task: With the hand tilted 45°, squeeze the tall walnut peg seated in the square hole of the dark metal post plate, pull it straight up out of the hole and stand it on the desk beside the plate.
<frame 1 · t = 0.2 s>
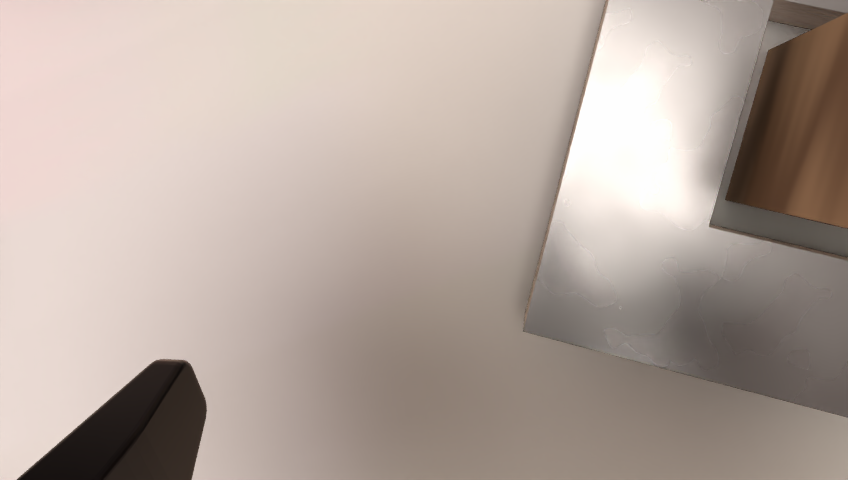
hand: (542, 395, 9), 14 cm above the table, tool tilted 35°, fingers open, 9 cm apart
post plate: (824, 143, 22), on the table
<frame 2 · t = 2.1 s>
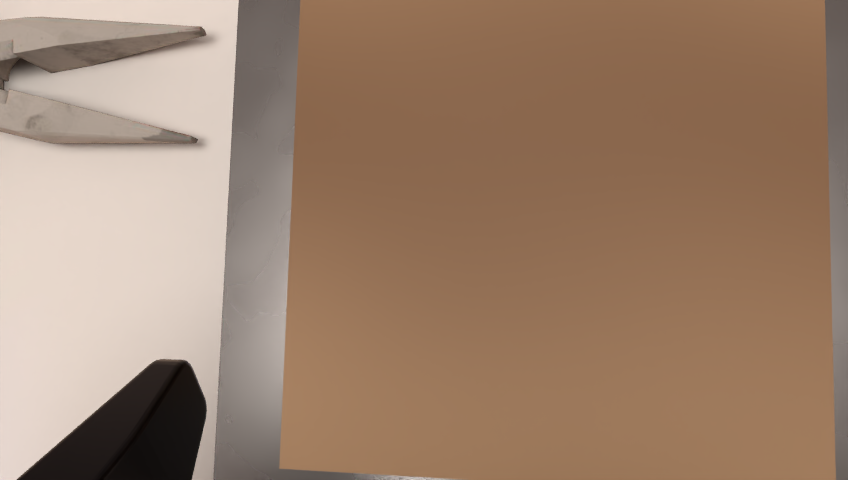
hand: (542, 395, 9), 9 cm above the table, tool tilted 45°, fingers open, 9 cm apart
post plate: (541, 281, 19), on the table
walnut peg: (542, 264, 13), in the post plate
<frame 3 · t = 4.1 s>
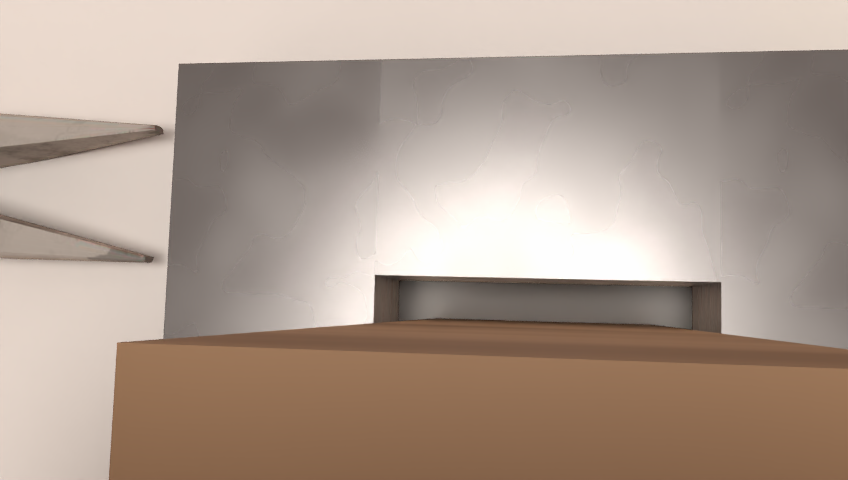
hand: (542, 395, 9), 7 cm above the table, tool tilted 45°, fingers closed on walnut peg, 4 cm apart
post plate: (539, 430, 16), on the table
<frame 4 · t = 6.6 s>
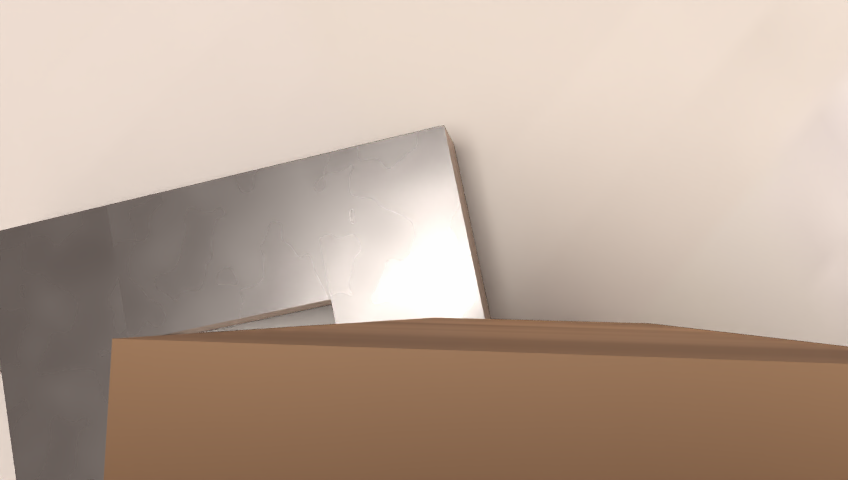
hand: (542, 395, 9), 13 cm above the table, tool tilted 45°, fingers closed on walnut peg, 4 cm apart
post plate: (277, 416, 24), on the table
when the fingers open (8 cm above the table, at t = 9.1 s): walnut peg drops 1 cm, on the table.
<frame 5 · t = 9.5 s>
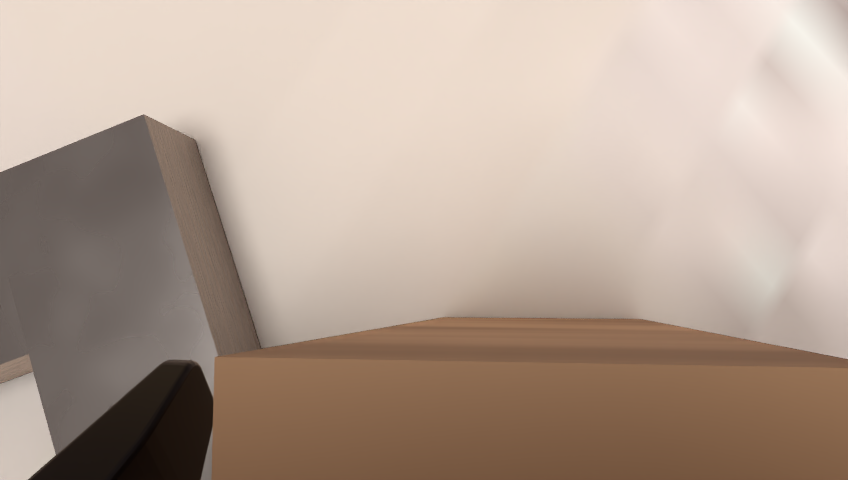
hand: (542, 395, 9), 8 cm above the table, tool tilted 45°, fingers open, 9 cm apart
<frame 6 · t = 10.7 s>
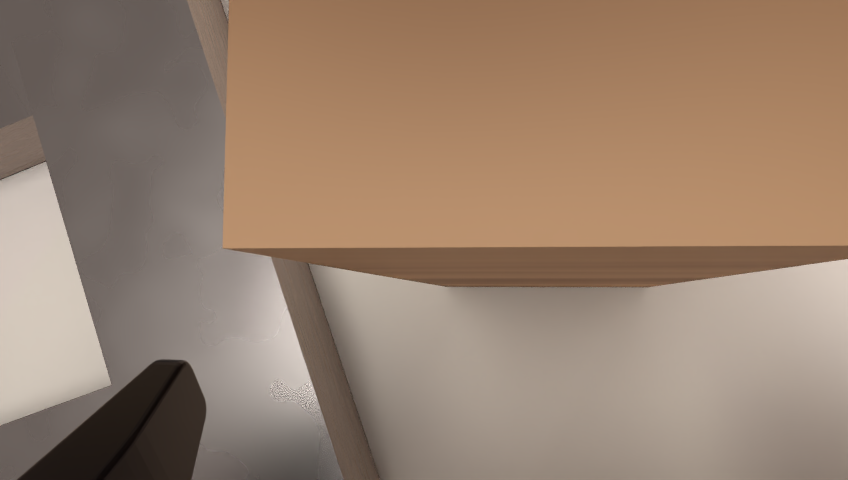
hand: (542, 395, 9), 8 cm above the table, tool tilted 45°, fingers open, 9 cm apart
post plate: (24, 296, 19), on the table
walnut peg: (546, 125, 11), on the table
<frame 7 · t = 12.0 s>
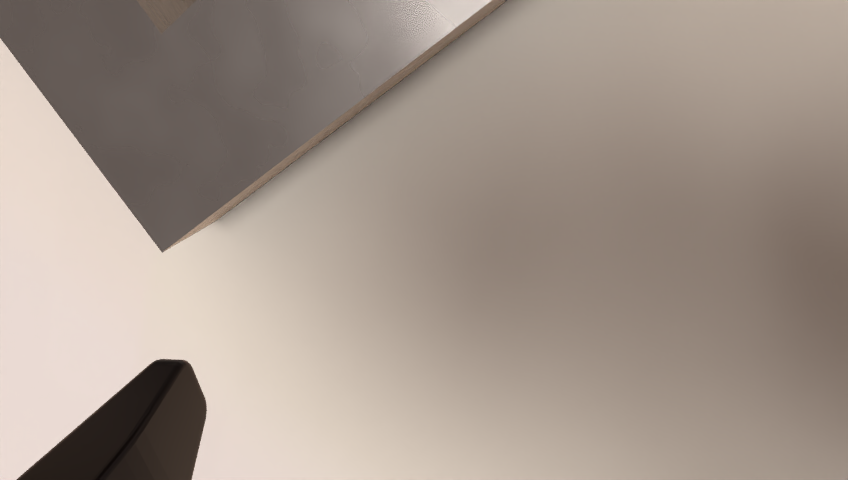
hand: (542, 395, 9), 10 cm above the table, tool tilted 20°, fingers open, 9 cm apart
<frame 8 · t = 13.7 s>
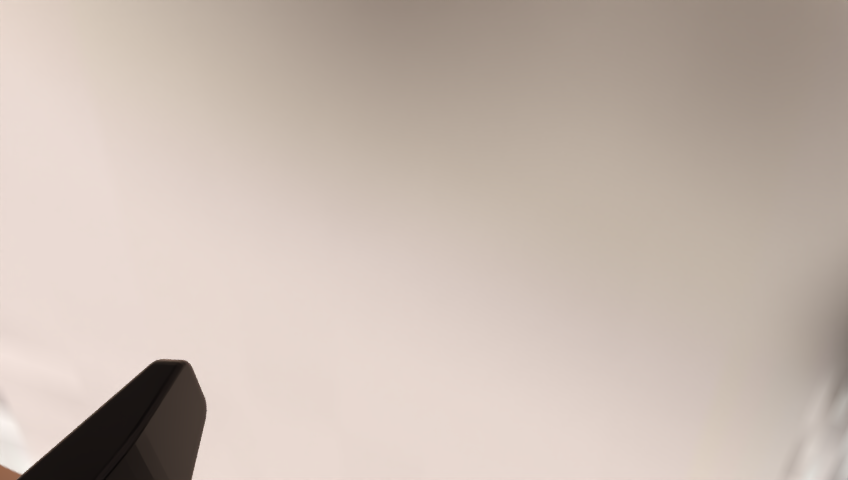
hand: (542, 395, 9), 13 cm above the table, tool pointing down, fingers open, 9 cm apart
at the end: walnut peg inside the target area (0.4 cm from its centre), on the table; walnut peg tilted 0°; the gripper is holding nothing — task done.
